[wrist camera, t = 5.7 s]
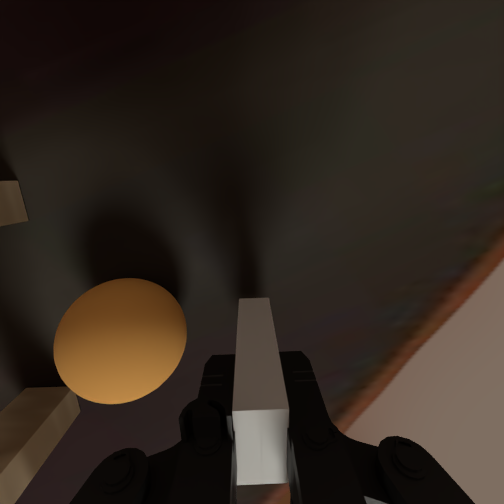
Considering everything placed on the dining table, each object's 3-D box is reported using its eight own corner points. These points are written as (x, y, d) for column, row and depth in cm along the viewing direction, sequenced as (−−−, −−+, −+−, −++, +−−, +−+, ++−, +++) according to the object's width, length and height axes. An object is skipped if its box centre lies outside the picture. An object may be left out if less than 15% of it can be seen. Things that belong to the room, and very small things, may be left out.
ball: (42, 449, 10) (97, 356, 15) (188, 423, 11) (193, 343, 16) (-1, 322, 8) (76, 267, 14) (174, 305, 9) (184, 259, 15)
